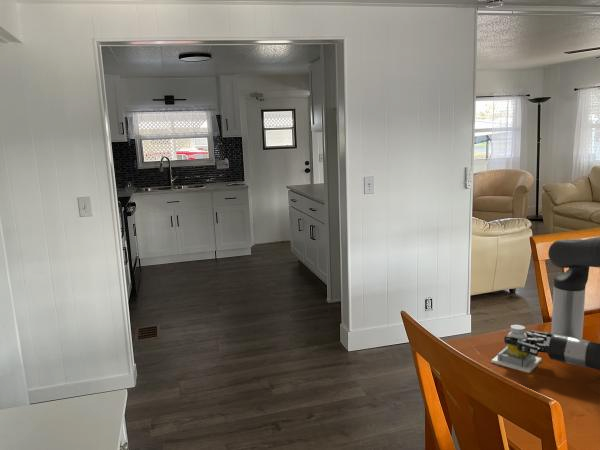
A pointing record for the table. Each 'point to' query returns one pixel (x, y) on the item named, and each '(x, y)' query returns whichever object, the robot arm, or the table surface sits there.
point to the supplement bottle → (519, 333)
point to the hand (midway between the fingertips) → (508, 336)
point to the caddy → (516, 361)
